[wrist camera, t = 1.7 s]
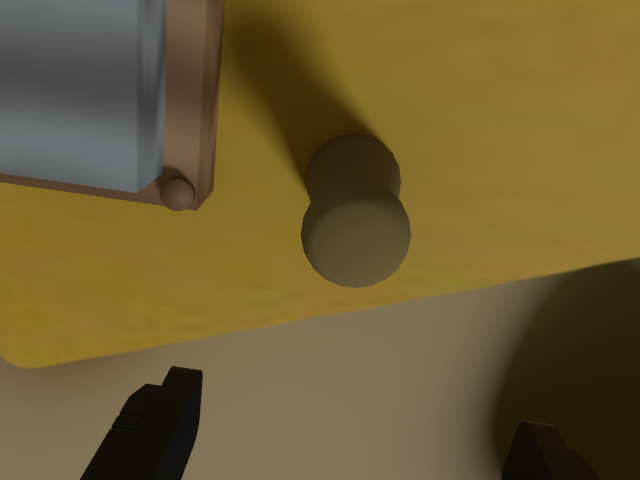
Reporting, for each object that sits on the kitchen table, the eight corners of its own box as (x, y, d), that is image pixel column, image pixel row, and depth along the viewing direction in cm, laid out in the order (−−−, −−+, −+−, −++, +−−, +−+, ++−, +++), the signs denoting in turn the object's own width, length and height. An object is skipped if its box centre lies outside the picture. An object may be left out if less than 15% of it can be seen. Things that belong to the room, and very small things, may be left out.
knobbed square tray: (-24, -88, 29) (-154, -128, 21) (227, -50, 29) (185, -78, 21) (0, 159, 34) (-96, 196, 27) (212, 190, 34) (175, 235, 27)
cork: (363, 242, 35) (369, 329, 25) (288, 191, 34) (263, 261, 24) (420, 170, 33) (452, 233, 23) (342, 114, 32) (340, 154, 22)
